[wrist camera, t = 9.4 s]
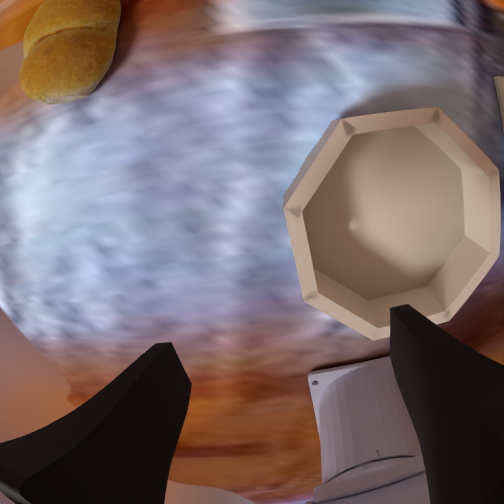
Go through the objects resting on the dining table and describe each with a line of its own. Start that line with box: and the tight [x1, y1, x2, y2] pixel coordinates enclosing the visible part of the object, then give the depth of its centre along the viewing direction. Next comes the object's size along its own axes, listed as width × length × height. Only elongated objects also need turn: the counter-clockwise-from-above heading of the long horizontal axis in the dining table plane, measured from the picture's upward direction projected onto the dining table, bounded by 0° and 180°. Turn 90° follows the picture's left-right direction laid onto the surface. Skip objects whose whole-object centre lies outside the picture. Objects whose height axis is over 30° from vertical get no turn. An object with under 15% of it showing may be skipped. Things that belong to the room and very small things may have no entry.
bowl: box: [283, 107, 501, 340], centre depth 16 cm, size 12×12×4 cm
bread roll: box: [19, 0, 121, 105], centre depth 14 cm, size 8×9×4 cm
